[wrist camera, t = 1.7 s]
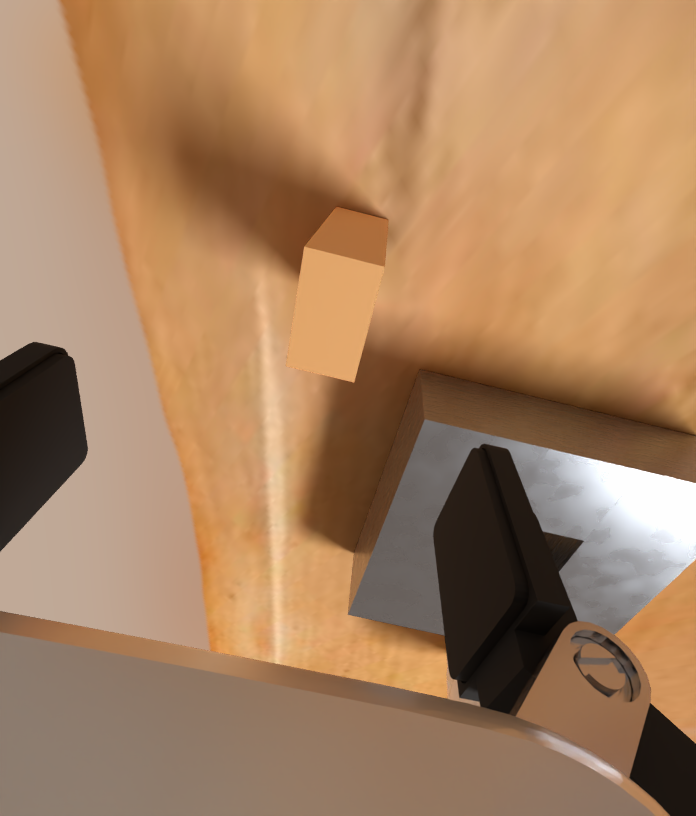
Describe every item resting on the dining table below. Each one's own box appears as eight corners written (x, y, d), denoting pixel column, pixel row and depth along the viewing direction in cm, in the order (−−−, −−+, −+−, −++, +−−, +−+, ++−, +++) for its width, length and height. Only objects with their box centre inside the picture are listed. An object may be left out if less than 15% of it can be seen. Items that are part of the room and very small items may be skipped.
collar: (698, 436, 29) (760, 498, 24) (558, 599, 40) (581, 664, 35) (419, 369, 29) (424, 419, 24) (353, 553, 40) (347, 614, 35)
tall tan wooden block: (388, 219, 24) (384, 266, 15) (367, 303, 27) (354, 382, 18) (336, 206, 24) (304, 246, 15) (320, 292, 26) (285, 366, 18)
